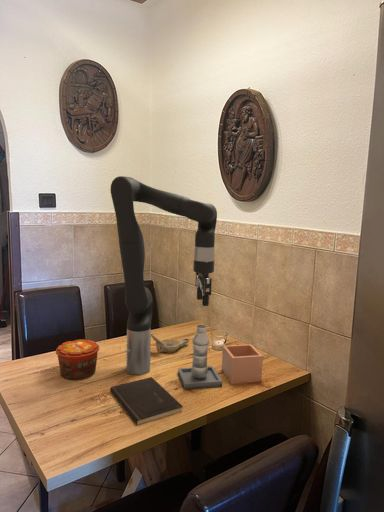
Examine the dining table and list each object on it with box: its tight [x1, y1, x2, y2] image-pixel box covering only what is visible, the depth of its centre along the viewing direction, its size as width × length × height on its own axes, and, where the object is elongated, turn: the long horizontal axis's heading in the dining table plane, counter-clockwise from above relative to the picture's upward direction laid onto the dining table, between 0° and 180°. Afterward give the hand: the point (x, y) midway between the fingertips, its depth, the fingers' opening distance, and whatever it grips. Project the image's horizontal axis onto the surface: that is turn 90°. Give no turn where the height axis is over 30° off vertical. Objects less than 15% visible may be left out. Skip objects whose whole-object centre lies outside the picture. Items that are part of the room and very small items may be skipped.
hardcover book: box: [109, 376, 184, 426], centre depth 125 cm, size 16×23×2 cm
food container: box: [55, 339, 100, 381], centre depth 144 cm, size 16×16×11 cm
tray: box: [177, 365, 223, 390], centre depth 142 cm, size 14×13×2 cm
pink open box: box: [221, 343, 264, 385], centre depth 146 cm, size 12×12×10 cm
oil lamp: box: [151, 333, 190, 353], centre depth 169 cm, size 9×21×10 cm, turn 130°
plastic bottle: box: [190, 324, 210, 379], centre depth 141 cm, size 6×7×20 cm
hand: (202, 302), depth 137 cm, fingers open, 8 cm apart
